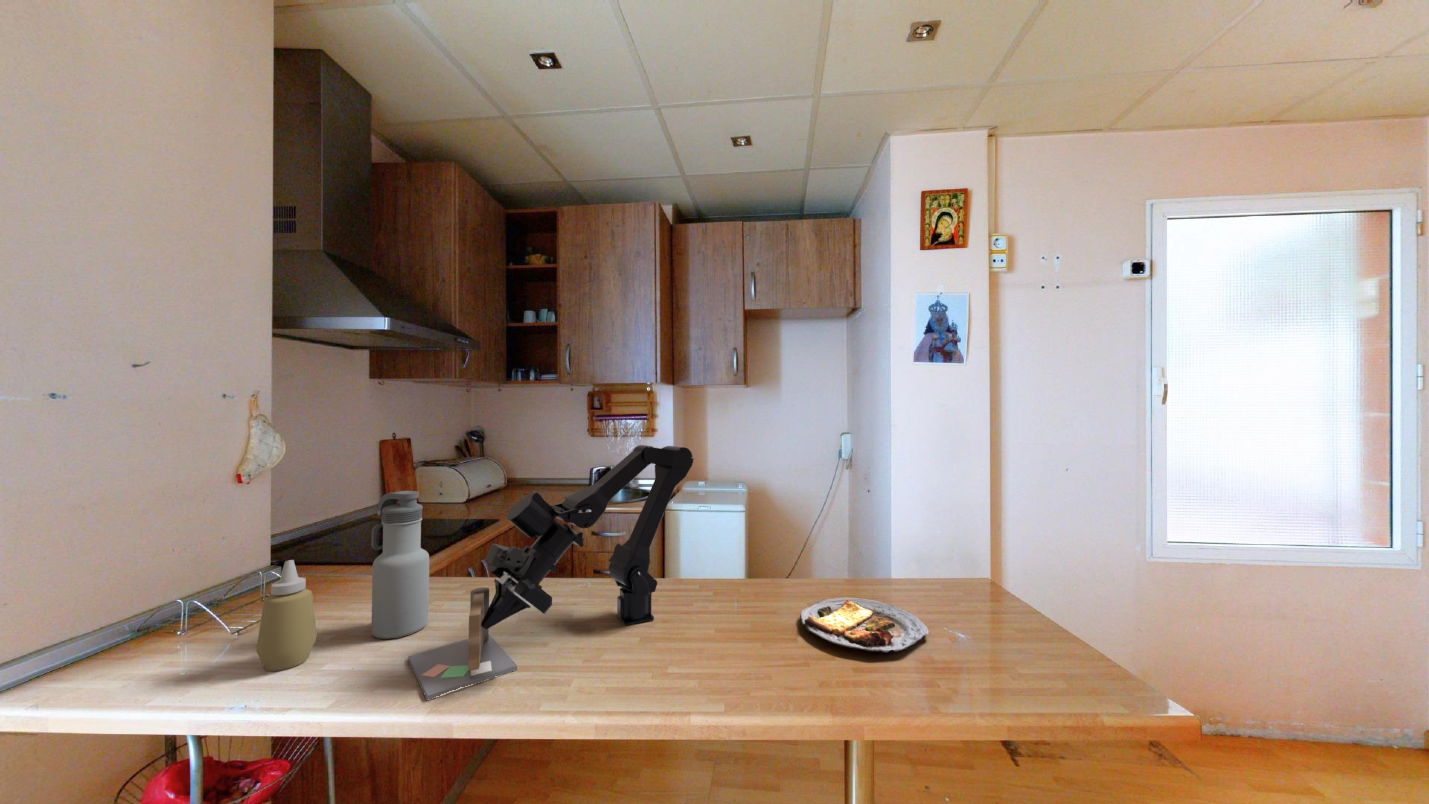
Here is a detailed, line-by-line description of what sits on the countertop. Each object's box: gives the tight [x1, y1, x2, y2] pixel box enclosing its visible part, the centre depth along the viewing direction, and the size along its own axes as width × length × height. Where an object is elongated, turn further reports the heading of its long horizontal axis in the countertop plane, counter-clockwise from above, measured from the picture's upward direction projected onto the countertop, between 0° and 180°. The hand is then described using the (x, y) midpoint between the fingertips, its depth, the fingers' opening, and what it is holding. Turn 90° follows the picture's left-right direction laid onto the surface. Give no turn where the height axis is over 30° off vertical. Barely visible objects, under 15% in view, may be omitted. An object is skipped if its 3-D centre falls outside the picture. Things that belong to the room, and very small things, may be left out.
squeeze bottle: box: [255, 559, 318, 672], centre depth 85 cm, size 8×8×18 cm
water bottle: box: [370, 490, 430, 640], centre depth 98 cm, size 10×10×28 cm
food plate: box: [799, 597, 929, 655], centre depth 99 cm, size 25×23×4 cm
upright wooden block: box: [468, 587, 490, 676], centre depth 86 cm, size 15×3×9 cm, turn 22°
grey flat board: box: [407, 633, 518, 700], centre depth 84 cm, size 16×14×1 cm
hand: (483, 627), depth 84 cm, fingers closed
